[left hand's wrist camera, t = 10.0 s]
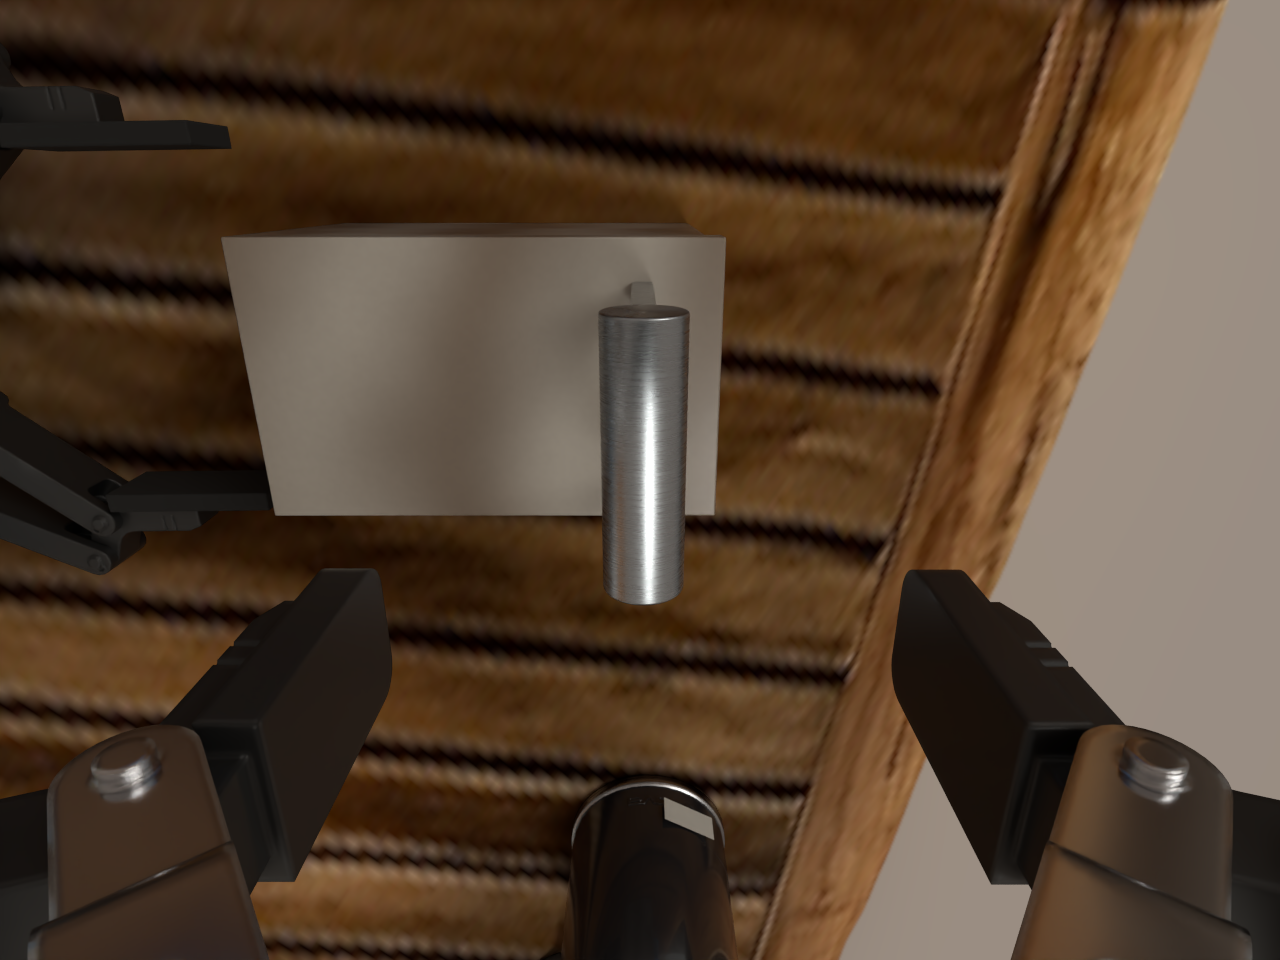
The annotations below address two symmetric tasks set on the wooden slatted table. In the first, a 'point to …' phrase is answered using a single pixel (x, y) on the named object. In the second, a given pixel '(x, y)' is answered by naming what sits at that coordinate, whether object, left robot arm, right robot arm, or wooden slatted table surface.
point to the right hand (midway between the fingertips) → (250, 327)
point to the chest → (493, 229)
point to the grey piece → (491, 381)
